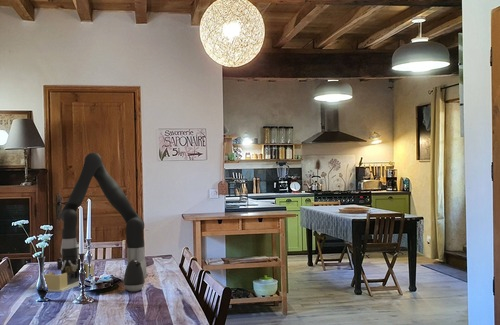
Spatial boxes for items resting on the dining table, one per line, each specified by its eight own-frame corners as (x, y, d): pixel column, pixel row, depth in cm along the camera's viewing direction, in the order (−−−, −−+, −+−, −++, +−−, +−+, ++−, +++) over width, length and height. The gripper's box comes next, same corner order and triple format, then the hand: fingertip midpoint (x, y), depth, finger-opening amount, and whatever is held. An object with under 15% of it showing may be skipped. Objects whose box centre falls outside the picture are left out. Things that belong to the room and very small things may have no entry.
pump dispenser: (131, 294, 231) (131, 262, 231) (119, 290, 238) (119, 260, 238) (149, 289, 239) (148, 259, 239) (137, 286, 246) (136, 256, 246)
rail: (86, 277, 265) (86, 268, 265) (61, 287, 244) (60, 277, 244) (78, 277, 266) (78, 268, 266) (52, 287, 245) (52, 277, 245)
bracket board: (96, 278, 268) (96, 263, 268) (61, 291, 239) (61, 275, 239) (77, 277, 271) (77, 263, 271) (41, 290, 242) (40, 274, 242)
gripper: (85, 245, 257) (86, 277, 257) (62, 245, 261) (62, 276, 260) (76, 248, 250) (77, 280, 249) (53, 247, 253) (53, 279, 253)
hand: (70, 278), depth 255 cm, fingers open, 7 cm apart
